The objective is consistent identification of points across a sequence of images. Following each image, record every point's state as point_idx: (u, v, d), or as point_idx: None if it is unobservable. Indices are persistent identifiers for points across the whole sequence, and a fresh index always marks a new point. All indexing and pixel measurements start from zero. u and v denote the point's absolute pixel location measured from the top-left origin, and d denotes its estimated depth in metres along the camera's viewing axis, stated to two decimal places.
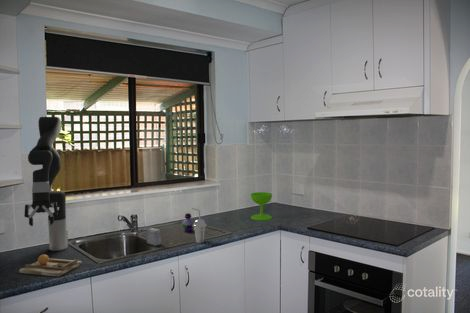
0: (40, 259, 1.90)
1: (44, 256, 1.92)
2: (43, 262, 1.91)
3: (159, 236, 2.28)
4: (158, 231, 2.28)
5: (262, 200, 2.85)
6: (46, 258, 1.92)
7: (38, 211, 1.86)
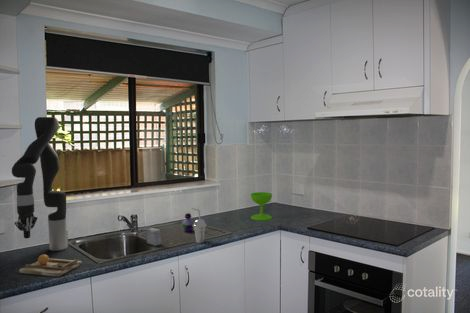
0: (40, 259, 1.90)
1: (44, 256, 1.92)
2: (43, 262, 1.91)
3: (159, 236, 2.28)
4: (158, 231, 2.28)
5: (262, 200, 2.85)
6: (46, 258, 1.92)
7: (28, 221, 1.94)
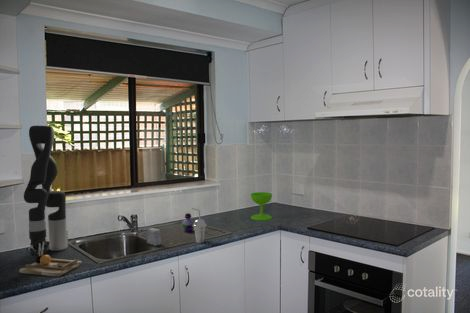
0: (43, 260, 1.90)
1: (47, 257, 1.91)
2: (44, 263, 1.91)
3: (159, 236, 2.28)
4: (158, 231, 2.28)
5: (262, 200, 2.85)
6: (48, 260, 1.91)
7: (40, 246, 1.93)
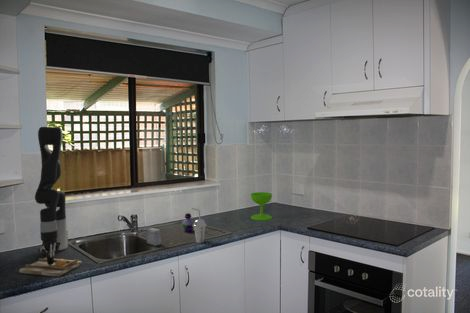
0: (56, 266, 1.88)
1: None
2: (56, 262, 1.89)
3: (159, 236, 2.28)
4: (158, 231, 2.28)
5: (262, 200, 2.85)
6: None
7: (52, 247, 1.91)
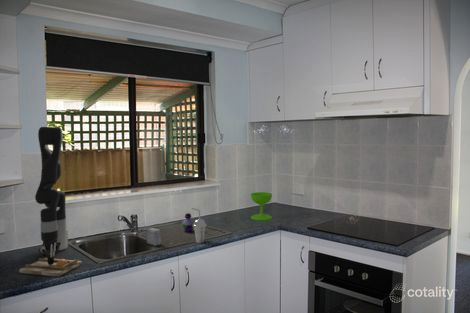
0: (57, 266, 1.88)
1: None
2: (58, 262, 1.88)
3: (159, 236, 2.28)
4: (158, 231, 2.28)
5: (262, 200, 2.85)
6: None
7: (52, 247, 1.91)
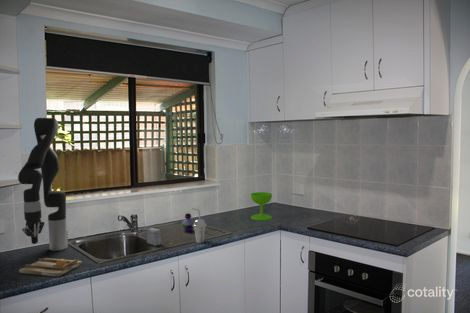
0: (56, 266, 1.88)
1: None
2: (57, 262, 1.89)
3: (159, 236, 2.28)
4: (158, 231, 2.28)
5: (262, 200, 2.85)
6: None
7: (36, 226, 1.95)
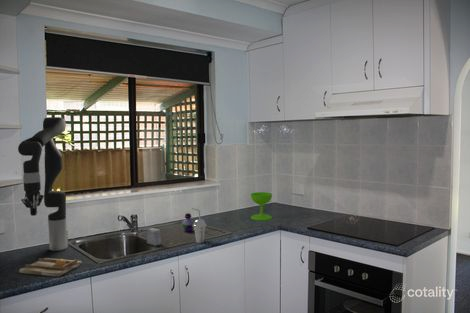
0: (56, 266, 1.88)
1: None
2: (56, 262, 1.89)
3: (159, 236, 2.28)
4: (158, 231, 2.28)
5: (262, 200, 2.85)
6: None
7: (35, 198, 1.96)
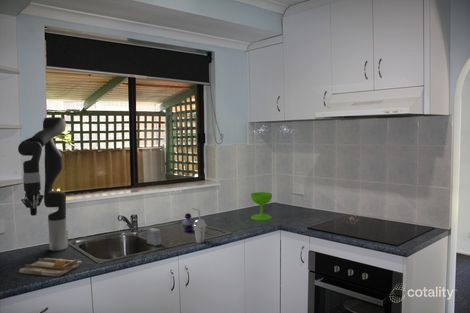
0: (55, 266, 1.89)
1: None
2: (55, 262, 1.89)
3: (159, 236, 2.28)
4: (158, 231, 2.28)
5: (262, 200, 2.85)
6: None
7: (35, 198, 1.96)
